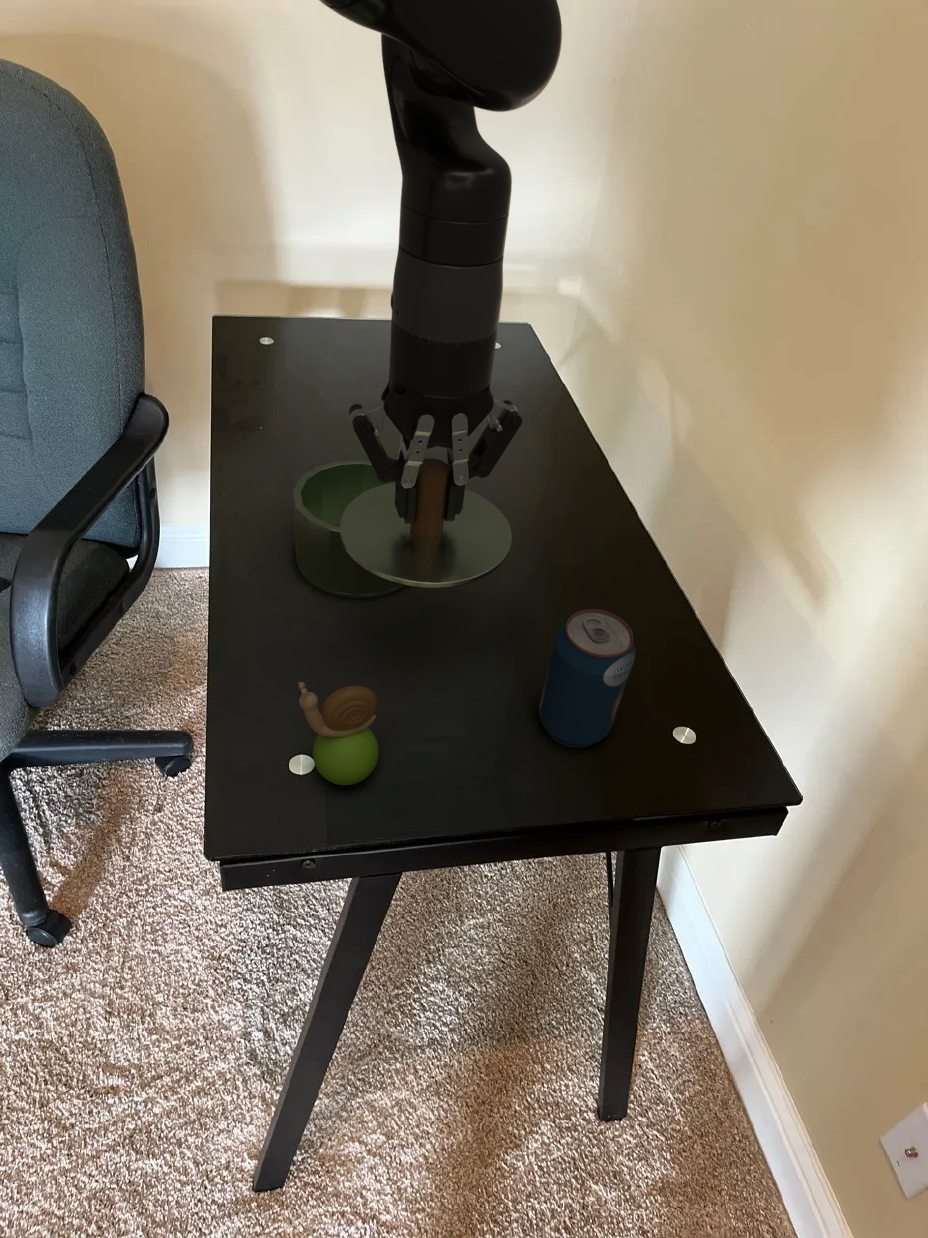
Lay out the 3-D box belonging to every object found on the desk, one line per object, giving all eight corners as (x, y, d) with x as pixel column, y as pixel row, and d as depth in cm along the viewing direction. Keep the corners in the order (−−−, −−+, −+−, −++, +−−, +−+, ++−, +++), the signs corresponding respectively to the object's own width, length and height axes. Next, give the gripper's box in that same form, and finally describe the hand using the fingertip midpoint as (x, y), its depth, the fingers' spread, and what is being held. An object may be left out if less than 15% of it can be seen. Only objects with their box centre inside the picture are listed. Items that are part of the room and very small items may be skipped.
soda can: (621, 746, 76) (654, 654, 68) (551, 759, 74) (577, 666, 66) (591, 691, 81) (619, 599, 73) (525, 702, 79) (546, 609, 71)
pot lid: (353, 601, 64) (354, 526, 59) (329, 494, 74) (328, 423, 69) (531, 586, 67) (546, 514, 63) (485, 486, 78) (494, 418, 73)
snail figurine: (294, 759, 71) (288, 661, 63) (365, 740, 73) (368, 643, 65) (312, 809, 68) (308, 713, 59) (386, 787, 70) (392, 692, 62)
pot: (303, 603, 86) (300, 537, 80) (291, 526, 95) (288, 462, 90) (430, 592, 89) (437, 529, 83) (406, 518, 99) (410, 457, 93)
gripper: (353, 338, 53) (351, 550, 65) (556, 337, 57) (519, 538, 68) (338, 293, 59) (338, 496, 70) (524, 294, 62) (495, 487, 74)
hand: (428, 516), depth 69 cm, fingers closed on pot lid, 3 cm apart
